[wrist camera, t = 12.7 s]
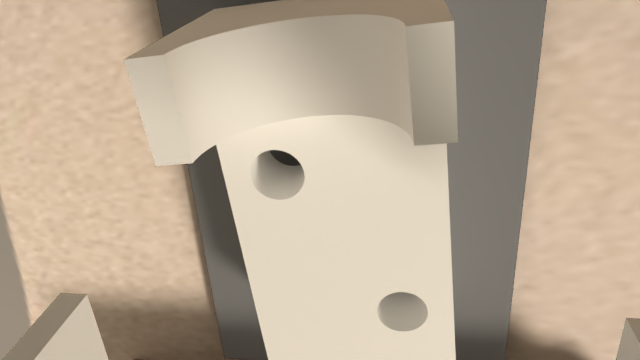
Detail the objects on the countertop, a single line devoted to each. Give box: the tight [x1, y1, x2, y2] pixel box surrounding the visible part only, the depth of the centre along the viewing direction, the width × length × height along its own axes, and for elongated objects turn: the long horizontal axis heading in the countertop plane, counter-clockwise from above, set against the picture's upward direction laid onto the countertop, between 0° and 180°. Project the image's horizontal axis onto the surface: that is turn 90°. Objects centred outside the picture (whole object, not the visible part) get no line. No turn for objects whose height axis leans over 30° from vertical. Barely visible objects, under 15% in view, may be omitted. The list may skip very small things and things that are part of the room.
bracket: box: [124, 0, 458, 360], centre depth 17 cm, size 13×7×8 cm, turn 8°
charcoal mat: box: [157, 0, 547, 360], centre depth 22 cm, size 18×13×1 cm
